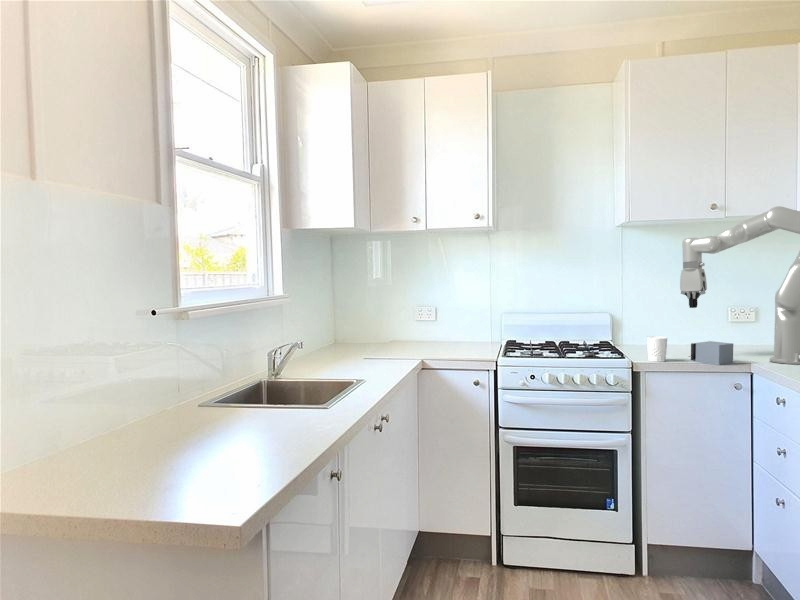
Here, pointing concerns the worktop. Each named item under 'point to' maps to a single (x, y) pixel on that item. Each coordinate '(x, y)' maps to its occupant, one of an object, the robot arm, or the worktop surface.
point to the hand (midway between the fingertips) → (693, 307)
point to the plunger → (693, 351)
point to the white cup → (657, 348)
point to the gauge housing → (714, 353)
